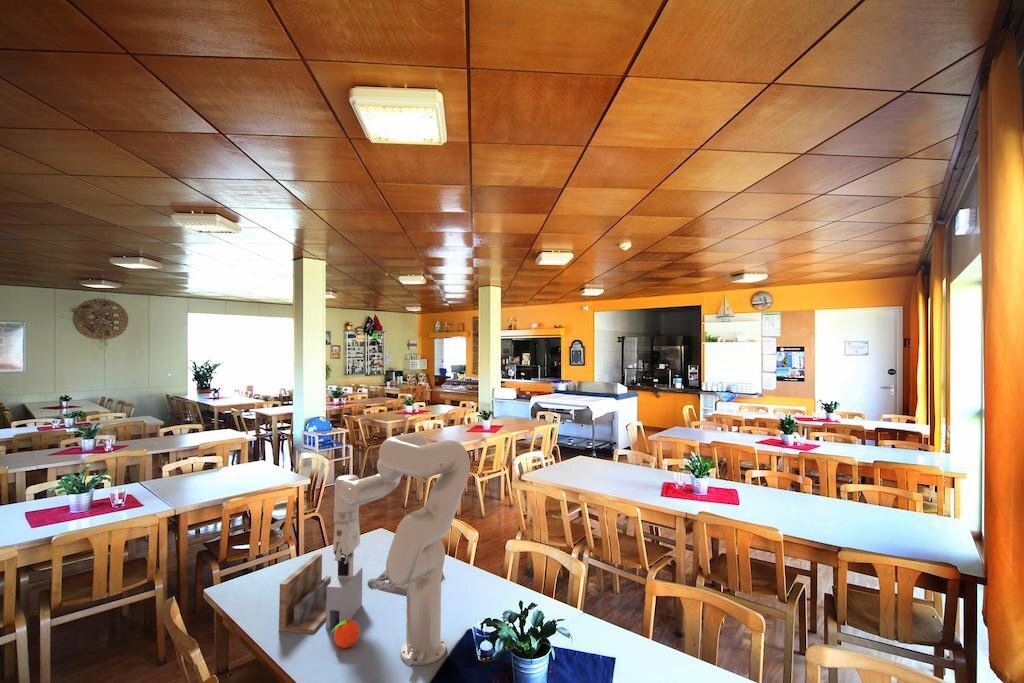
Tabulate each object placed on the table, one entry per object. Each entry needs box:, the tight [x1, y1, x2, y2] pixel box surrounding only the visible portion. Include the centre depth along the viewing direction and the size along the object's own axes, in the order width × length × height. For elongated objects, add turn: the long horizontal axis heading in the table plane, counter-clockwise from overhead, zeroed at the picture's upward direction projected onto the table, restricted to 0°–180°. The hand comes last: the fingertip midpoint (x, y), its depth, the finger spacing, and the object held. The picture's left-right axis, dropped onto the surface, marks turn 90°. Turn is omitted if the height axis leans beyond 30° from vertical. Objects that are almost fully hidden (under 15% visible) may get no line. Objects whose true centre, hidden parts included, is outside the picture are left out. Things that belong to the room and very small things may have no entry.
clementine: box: [330, 619, 360, 649], centre depth 134 cm, size 8×7×7 cm
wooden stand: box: [278, 553, 332, 634], centre depth 152 cm, size 22×11×14 cm, turn 175°
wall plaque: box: [367, 569, 445, 596], centre depth 173 cm, size 24×19×4 cm
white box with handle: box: [325, 556, 363, 629], centre depth 150 cm, size 14×5×18 cm, turn 175°
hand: (345, 572), depth 150 cm, fingers closed on white box with handle, 2 cm apart
